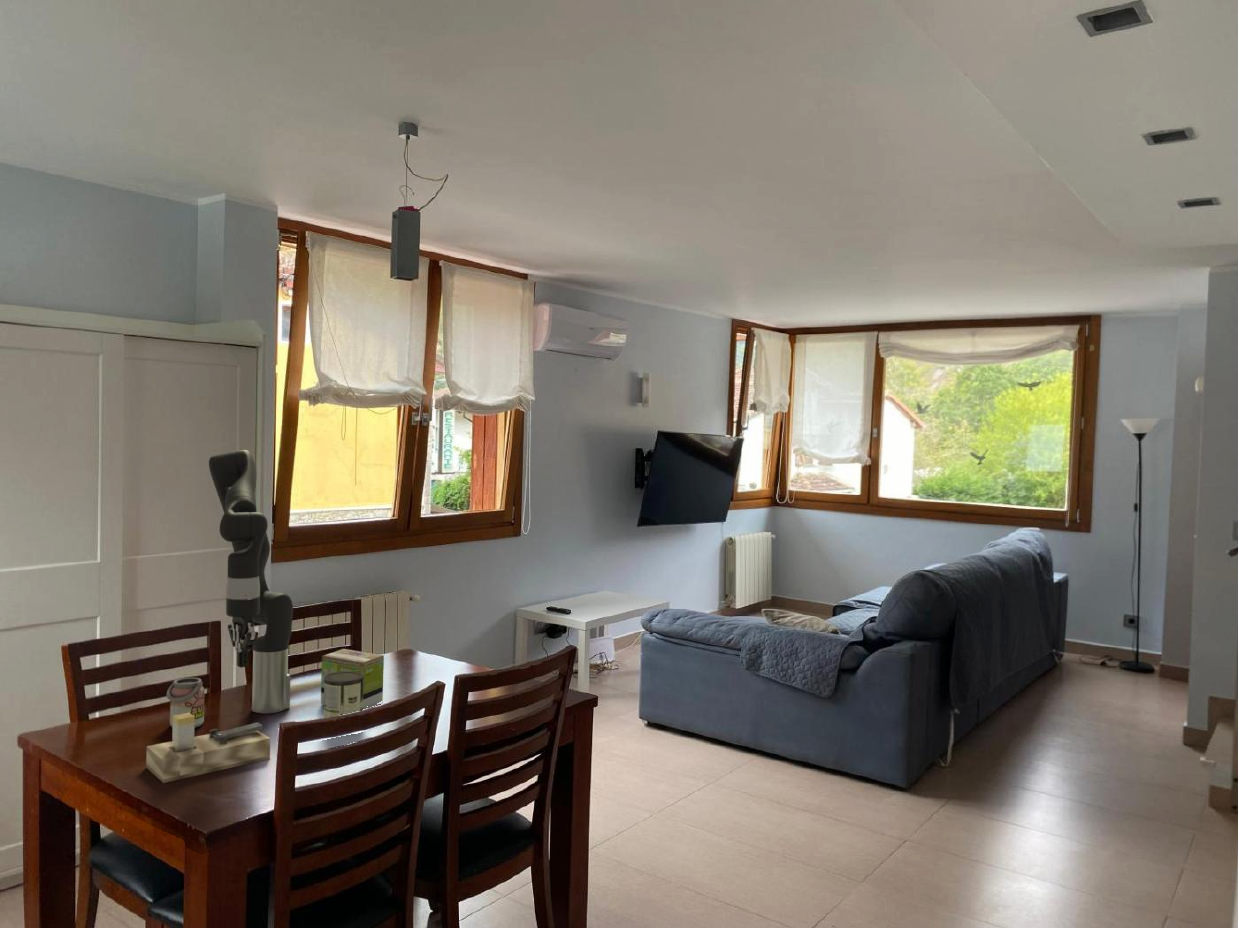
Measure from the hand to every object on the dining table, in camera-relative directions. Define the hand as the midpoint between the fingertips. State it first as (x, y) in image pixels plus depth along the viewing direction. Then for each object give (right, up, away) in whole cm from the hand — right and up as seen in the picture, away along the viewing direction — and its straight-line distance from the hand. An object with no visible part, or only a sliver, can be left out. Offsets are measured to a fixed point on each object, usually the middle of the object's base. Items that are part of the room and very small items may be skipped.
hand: (242, 666), depth 218 cm
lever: (-1, -16, 0) cm, 16 cm away
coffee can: (+17, -22, +24) cm, 37 cm away
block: (-6, -22, -4) cm, 23 cm away
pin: (-10, -21, -8) cm, 25 cm away
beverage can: (-24, -21, +21) cm, 38 cm away
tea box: (+13, -21, +45) cm, 51 cm away
